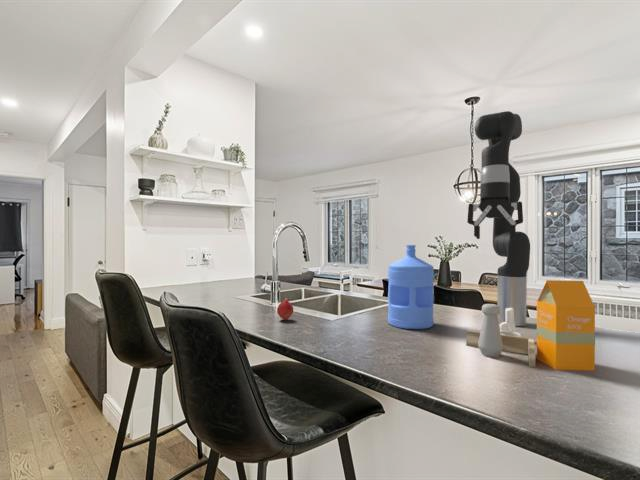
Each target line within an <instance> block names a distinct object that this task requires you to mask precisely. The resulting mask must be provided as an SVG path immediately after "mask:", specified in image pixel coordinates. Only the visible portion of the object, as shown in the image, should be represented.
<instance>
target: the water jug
mask: <svg viewBox="0 0 640 480" xmlns="http://www.w3.org/2000/svg"><path fill="white" fill-rule="evenodd" d="M405 251H406V254H405V257H402V258H401V259H399V260H397V261H394V262H392V263H390V264H389V265H388V271H387V272H388V273H387V275H388V276H387V277H388V289H387V291H388V292H387V300H388V308H387V309H388V310H387V311H388V315H387V323H388V324H389V325H391V326H392V327H395V328H399V329H406V330H427V329H430V328H431V327H433V326H434V322H435V319H434V301H435V300H434V299H435V297H434V296H435V295H434V278H435V271H434V265H432V264H431V263H428V262H426V261H424V260H422V259H421V258H418V257H417V256H416V244H409V245H408V244H406V250H405Z"/></svg>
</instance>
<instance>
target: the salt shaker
mask: <svg viewBox="0 0 640 480" xmlns="http://www.w3.org/2000/svg"><path fill="white" fill-rule="evenodd" d="M481 312H482V313H483V314H484V315H483V318H482V324H481V329H480V331H479V332H480V337H479V342H478V346H479V347H478V348H479V351H480V353H481V355H482V356H485V357H488V358H493V357H494V358H500V356H501V354H502V352H503V351H502V350H503V342H502V337H501V332H500V331H501V329H500V323H499V322H498V316H497V315H498V314H500V307H499V306H498V305H497V304H495V303H484V304H483V305H482V306H481Z"/></svg>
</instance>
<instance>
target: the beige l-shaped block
mask: <svg viewBox="0 0 640 480" xmlns="http://www.w3.org/2000/svg"><path fill="white" fill-rule="evenodd" d="M480 332H481V331H476V330H469V329H468V330H467V329H466V332H465V335H466V336H465V343H466V344H465V345H466V346H469V347H474V348H479V346H478V342H479V337H480ZM501 337H502V342H503V350H502V352H511V353H517V354H522V355H523V354H526V355H528V367H533V368H536V346H535V345H536V344H535V340H534V338H533V337H525V336H523V337H518V336H510V335H502V334H501Z"/></svg>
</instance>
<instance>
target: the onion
mask: <svg viewBox="0 0 640 480" xmlns="http://www.w3.org/2000/svg"><path fill="white" fill-rule="evenodd" d="M276 309H277V311H276V312H277V314H278V316H279V317H280V318H281V319H282V320H283V321H287V320H289V318H290V317H291V316H292V315H293V314H294V306H293V305H292V303H291V302H289V301H288V298H284V300H282V301H281V302H280V303H279V304H278V306H277V308H276Z"/></svg>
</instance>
